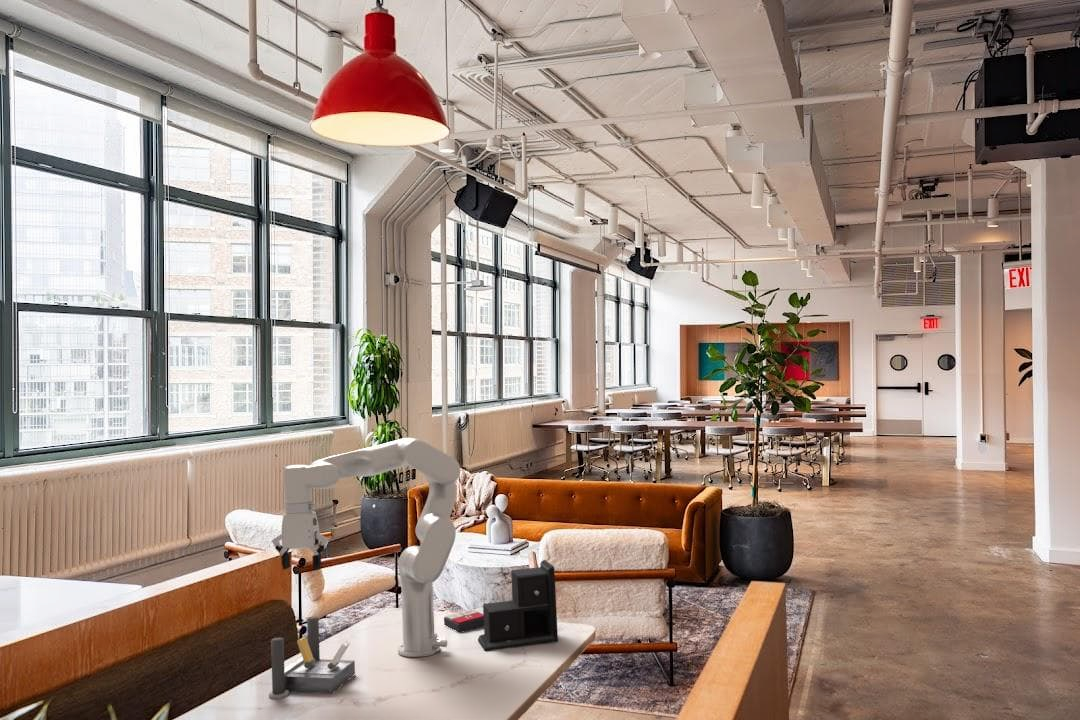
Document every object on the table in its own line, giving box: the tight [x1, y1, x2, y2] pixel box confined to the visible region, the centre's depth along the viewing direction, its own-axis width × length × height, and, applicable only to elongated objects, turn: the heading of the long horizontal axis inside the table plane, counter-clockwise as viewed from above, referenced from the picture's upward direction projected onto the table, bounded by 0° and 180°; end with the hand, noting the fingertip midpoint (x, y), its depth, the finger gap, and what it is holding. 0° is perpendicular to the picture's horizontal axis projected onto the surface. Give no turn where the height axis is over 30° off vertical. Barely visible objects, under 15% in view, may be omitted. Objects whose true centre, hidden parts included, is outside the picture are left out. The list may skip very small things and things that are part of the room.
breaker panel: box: [284, 656, 356, 694], centre depth 234 cm, size 16×14×5 cm
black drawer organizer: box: [477, 559, 559, 652], centre depth 265 cm, size 23×11×24 cm, turn 105°
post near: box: [268, 637, 290, 700], centre depth 226 cm, size 5×5×15 cm
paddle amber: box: [296, 636, 316, 668], centre depth 235 cm, size 2×4×8 cm, turn 168°
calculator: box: [443, 606, 484, 633], centre depth 285 cm, size 11×4×15 cm
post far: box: [306, 615, 321, 659], centre depth 246 cm, size 5×5×15 cm
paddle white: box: [328, 640, 351, 669], centre depth 233 cm, size 2×4×8 cm
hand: (301, 568), depth 243 cm, fingers open, 9 cm apart
